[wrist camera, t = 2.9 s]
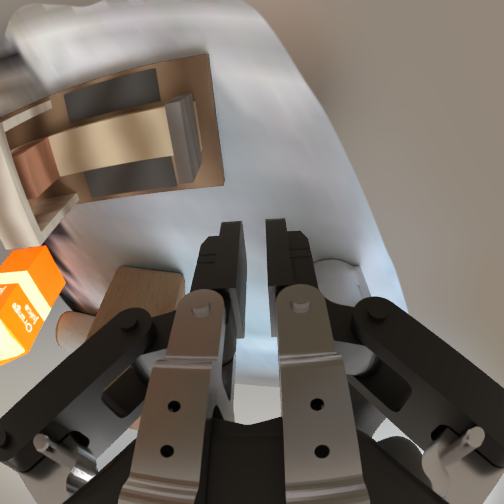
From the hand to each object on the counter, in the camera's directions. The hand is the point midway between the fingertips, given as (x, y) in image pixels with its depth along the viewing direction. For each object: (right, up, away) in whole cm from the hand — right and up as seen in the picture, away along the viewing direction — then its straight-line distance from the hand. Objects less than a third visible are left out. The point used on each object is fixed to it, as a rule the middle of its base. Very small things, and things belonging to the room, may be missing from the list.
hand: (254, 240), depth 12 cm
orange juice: (-35, -3, +31) cm, 47 cm away
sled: (-25, +11, +18) cm, 32 cm away
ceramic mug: (-29, -13, +39) cm, 50 cm away
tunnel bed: (-25, +12, +19) cm, 33 cm away
